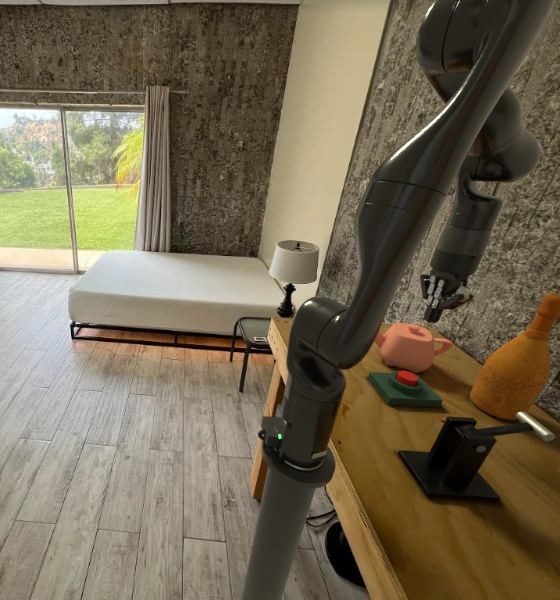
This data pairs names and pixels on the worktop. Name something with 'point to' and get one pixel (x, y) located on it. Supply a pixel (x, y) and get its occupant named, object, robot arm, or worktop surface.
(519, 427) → the lever
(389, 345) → the teapot
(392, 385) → the button block
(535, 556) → the worktop surface
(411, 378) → the button
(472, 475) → the bracket
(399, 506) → the worktop surface
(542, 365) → the wine bottle
